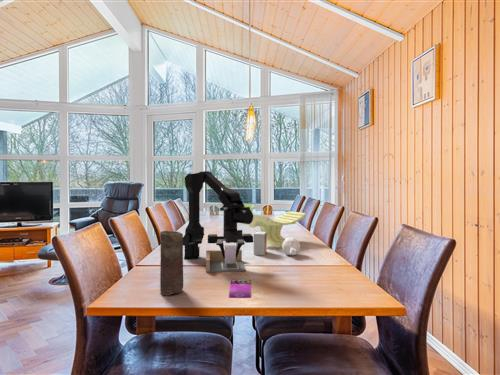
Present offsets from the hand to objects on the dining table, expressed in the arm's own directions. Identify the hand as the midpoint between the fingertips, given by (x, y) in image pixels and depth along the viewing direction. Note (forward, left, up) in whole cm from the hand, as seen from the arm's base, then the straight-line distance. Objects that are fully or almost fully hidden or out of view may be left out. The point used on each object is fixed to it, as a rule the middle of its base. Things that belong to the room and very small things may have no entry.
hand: (230, 258), depth 123 cm
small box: (+17, +23, -4) cm, 29 cm away
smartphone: (+2, -24, -5) cm, 24 cm away
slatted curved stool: (+31, +44, -4) cm, 54 cm away
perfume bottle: (+31, +17, -4) cm, 36 cm away
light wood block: (0, +3, -2) cm, 3 cm away
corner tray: (-2, +3, -4) cm, 6 cm away
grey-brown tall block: (-21, -24, -4) cm, 32 cm away
